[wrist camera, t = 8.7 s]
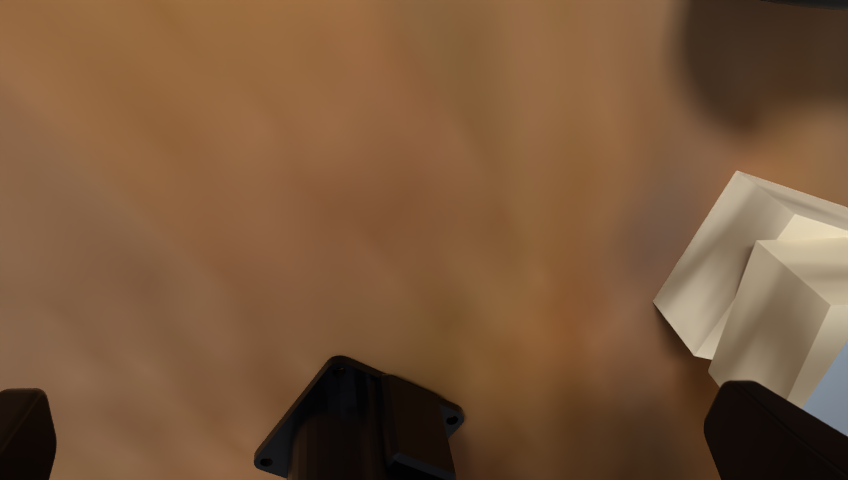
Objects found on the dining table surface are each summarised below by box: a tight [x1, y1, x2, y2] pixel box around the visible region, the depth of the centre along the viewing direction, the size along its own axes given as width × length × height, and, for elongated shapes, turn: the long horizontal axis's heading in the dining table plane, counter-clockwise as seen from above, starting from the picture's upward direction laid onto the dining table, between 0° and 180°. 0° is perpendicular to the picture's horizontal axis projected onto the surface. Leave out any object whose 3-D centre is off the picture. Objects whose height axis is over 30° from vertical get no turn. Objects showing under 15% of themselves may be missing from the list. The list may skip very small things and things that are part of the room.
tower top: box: [708, 237, 848, 409], centre depth 21 cm, size 6×6×4 cm
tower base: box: [653, 170, 848, 360], centre depth 24 cm, size 6×6×4 cm
